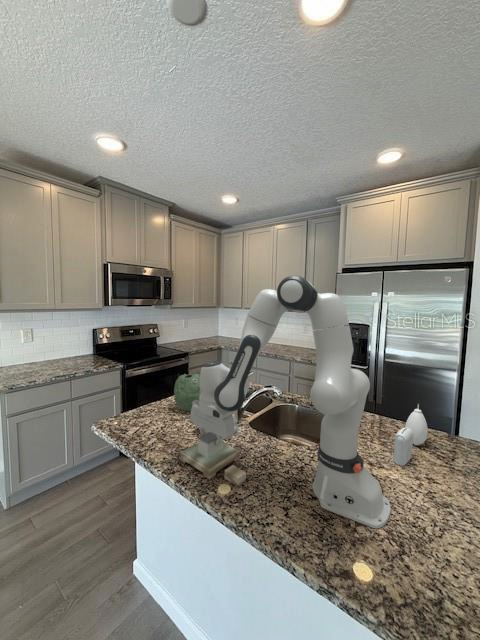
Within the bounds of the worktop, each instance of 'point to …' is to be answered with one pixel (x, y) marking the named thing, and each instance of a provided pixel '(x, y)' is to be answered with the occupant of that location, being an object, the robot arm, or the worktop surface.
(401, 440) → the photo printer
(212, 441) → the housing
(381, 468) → the worktop surface
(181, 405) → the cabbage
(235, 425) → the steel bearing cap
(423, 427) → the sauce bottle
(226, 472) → the beech block
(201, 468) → the stand
